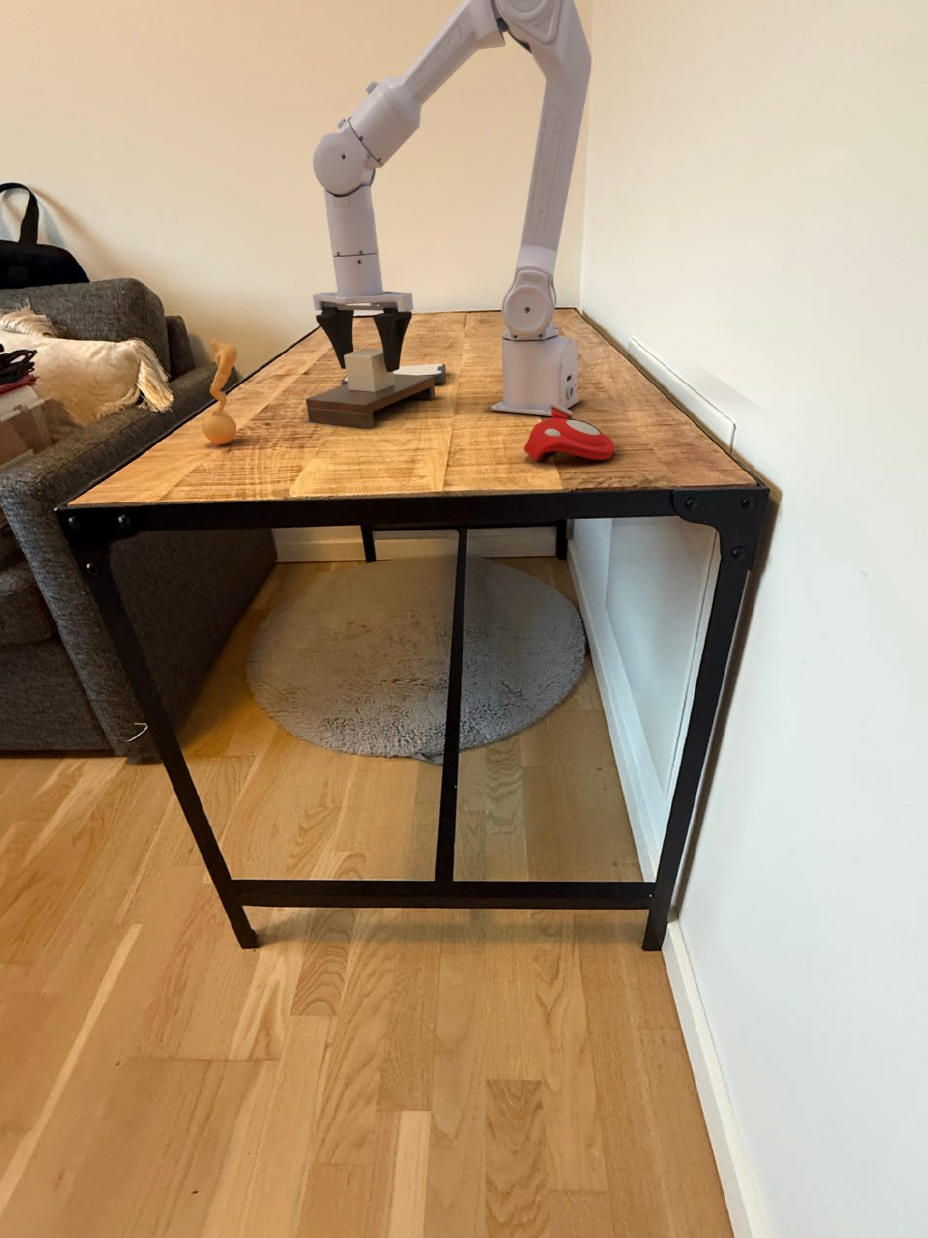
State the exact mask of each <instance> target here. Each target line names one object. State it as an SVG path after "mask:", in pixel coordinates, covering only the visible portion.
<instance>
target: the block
mask: <svg viewBox="0 0 928 1238" xmlns="http://www.w3.org/2000/svg"><path fill="white" fill-rule="evenodd" d="M344 358H345V365H346V369H345V372H346V375H347V379H348V386H349V390H357V391H368V392H377V391H379V390H382V389H384V388H387V387H389V386H392V385H394V384H395V383H394V374H393V372H387V371H386V368H385V363H384V356H383V349H381V348H379V349H378V348H362V349H359V350H355V351H354V352H352V353H349V354H346V355H344Z"/></svg>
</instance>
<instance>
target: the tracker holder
mask: <svg viewBox="0 0 928 1238" xmlns="http://www.w3.org/2000/svg"><path fill="white" fill-rule="evenodd" d="M550 410H551V414H552V416H550V418H547V419H543V420H542V421H539V422H538V423H536V424H535V425H534V426H533V427H532V429H531V432H530V434H529V437H528V439H527V441H526V443H525V445H524V447H523V451H524V452H525V453H526V454H528V456H530V457H531V458H532V459H533V460H535V462H536V461H537V462H538V461H540V460H542V459H543V458H544V457H545V456H546V455H547V454H548V453H549V452H563V453H566V454H570V455H572V456H577V457H580V458H581V457H582V458H586V459H590V460H596V461H605V460H609V459H611V458H612V457H613V454H614V451H615V449H616V446H615V443H614V442H613V440H612V439H611V438H610V437H608V436H607V435H606V434H605V433H603V432H602V431H601V430H600V429H599V428H598V427H597V426H594V425H593V424H591V423H589V422H586V421H584V420H581V419H577V418H576V419H575V418H574V412H572V411H573V410H570V409H565V408H563V407H561V406H558V405H556V404H554V403H552V402H551V403H550Z"/></svg>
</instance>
